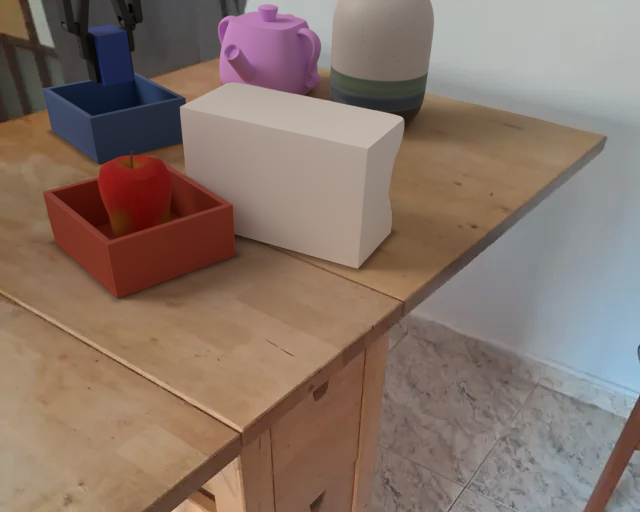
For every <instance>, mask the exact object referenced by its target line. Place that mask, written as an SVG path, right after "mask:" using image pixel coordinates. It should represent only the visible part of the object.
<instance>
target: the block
mask: <svg viewBox="0 0 640 512" xmlns="http://www.w3.org/2000/svg"><path fill="white" fill-rule="evenodd" d="M118 27H119V26H115V25H113V24H105V25H98V26H92V27H88V34H90V35H92V36H93V37H94V43H95V48H96V54H97V60H98V65H99V71H100V77H101V83H100V84H102V85H104V86H110V85H115V84H120V83H125V82H130V81H134V79H133V72H132V65H131V58H130V51H129V44H128V37H127V32H126V31H124V30H122V29H120V28H121V27H120V28H118Z"/></svg>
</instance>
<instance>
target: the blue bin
mask: <svg viewBox="0 0 640 512" xmlns="http://www.w3.org/2000/svg"><path fill="white" fill-rule="evenodd" d="M133 79H134V81H130V82H125V83H120V84H115V85H110V86H104V85H102V84H100V83H99V84H97V83H95V82H93V81H92V80H90V79H86V80H81V81H75V82H70V83H65V84H60V85H54V86H49V87H48V86H47V87H43V88H42V92H43V97H44V102H45V106H46V110H47V114H48V119H49V125H50V129H51V131H52V133H54V134H55V135H56V136H58V137H60V138H61V139H63V140H64V141H65V142H66V143H68V144H69V145H71V146H72V147H74V148H76V149H77V151H80V152H81V153H82V154H84V155H85V156H87V157H88V158H90V159H91V160H92V161H93V162H95V163H97V164H104V163H106V162H108V161H111V160H113V159H115V158H117V157H121V156H127V155H131V150H132V152H133V155H139V154H141V153H146V152H149V151H150V152H151V151H155V150H157V149H161V148H166V147H169V146H170V147H171V146H173V145H177V144H181V143H182V144H183V138H182V127H181V117H180V107H181V106H183V105H185V104H187V97H185V96H183V95H181V94H179V93H177V92H175V91H173V90H171V89H169V88H168V87H165V86H163V85H161V84H159V83H158V82H156V81H153V80H152V79H149V78H148V77H145V76H144V75H142V74H140V73H138V72H136V71H134V77H133Z"/></svg>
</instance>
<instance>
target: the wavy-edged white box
mask: <svg viewBox="0 0 640 512" xmlns="http://www.w3.org/2000/svg"><path fill="white" fill-rule="evenodd" d="M180 117H181V127H182V138H183V142H182V147H183V158H184V167H185V176H187V177H189V178H190V179H192V180H193V181H195V182H197V183H198V184H200V185H201V186H203V187H205V188H206V189H208V190H209V191H211V192H212V193H214V194H216V195H217V196H219V197H220V198H222V199H224V200H225V201H227V202H228V203H230V204H232V205H233V218H234V236H235V235H236V236H239V237H243V238H247V239H250V240H254V241H257V242H261V243H264V244H267V245H268V244H269V245H271V246H275V247H278V248H282V249H286V250H289V251H292V252H296V253H300V254H302V255H307V256H311V257H315V258H316V259H317V258H318V259H321V260H325V261H329V262H332V263H335V264H338V265H342V266H346V267H349V268H353V269H356V270H357V269H359V268H360V267H361V266H362V265H363V263H365V261H367V259H368V258H369V257H370V256H371V255H372V254H373V253H374V251H376V249H377V248H378V247H379V246H380V245H381V244H382V243H383V241H384V240H385V239H386V238H387V237H388V236H389V235H390V234H391V232H392V225H393V211H392V205H391V200H390V197H389V192H390V187H391V181H392V173H393V169H394V165H395V160H396V157H397V155H398V153H399V150H400V147H401V144H402V141H403V137H404V132H405V125H404V119H403V118H402V117H401V116H398V115H394V114H390V113H385V112H380V111H375V110H370V109H366V108H361V107H356V106H351V105H346V104H341V103H337V102H332V101H331V100H326V99H322V98H316V97H312V96H307V95H298V94H292V93H287V92H282V91H277V90H272V89H267V88H263V87H258V86H253V85H248V84H242V83H226V84H224V85H223V84H222V85H220V86H219V87H217V88H215V89H213V90H211V91H209V92H206V93H205V94H203V95H201V96H198V97H197V98H194V99H192V100H191V101H189V102H186V104H185V105H183V106H181V107H180Z"/></svg>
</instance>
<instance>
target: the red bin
mask: <svg viewBox="0 0 640 512" xmlns="http://www.w3.org/2000/svg"><path fill="white" fill-rule="evenodd" d="M164 164H165V166H166V168H167V169H168V171H169V173H170V175H171V177H172V193H171V203H170V218H171V221H170V222H167V223H164V224H161V225H158V226H155V227H151V228H148V229H145V230H142V231H139V232H136V233H132V234H129V235H126V236H123V237H120V238H117V239H116V238H115V237H114V234H113V231H112V226H111V222H110V218H109V215H108V212H107V210H106V208H105V205H104V203H103V201H102V198H101V195H100V191H99V187H98V182H97V180H98V176H97V177H93V178H89V179H86V180H82V181H78V182H74V183H70V184H66V185H62V186H59V187H55V188H50V189H47V190H43V191H42V195H43V200H44V203H45V208H46V212H47V215H48V218H49V223H50V227H51V232H52V235H53V240H54V243H55V244H56V245H57V246H58V247H59V248H61V249H62V250H63V251H64V252H65V253H66V254H68V255H69V256H70V258H72V259H73V260H74V261H75V262H76V263H77V264H79V265H80V266H81V267H82V268H83V269H84V270H85V271H86V272H88V273H89V274H90V275H91V276H92V277H93V278H94V279H95V280H96V281H97V282H99V284H101V285H102V286H103V287H104V288H105V289H107V290H108V291H109V292H110V293H111V294H112V295H113V296H114V297H115V298H117V299H120V298H122V297H125V296H128V295H131V294H135V293H138V292H140V291H143V290H145V289H148V288H151V287H153V286H156V285H159V284H161V283H165V282H168V281H169V280H172V279H175V278H178V277H181V276H184V275H186V274H189V273H192V272H194V271H197V270H199V269H202V268H205V267H208V266H211V265H214V264H217V263H219V262H222V261H225V260H227V259H230V258H232V257H233V258H234V257H236V256H237V255H236V239H235V237H236V236H235V234H234V218H233V205H232V204H230V203H228V202H227V201H225V200H224V199H222V198H220V197H219V196H217V195H216V194H214V193H212V192H211V191H209V190H208V189H206V188H205V187H203V186H201V185H200V184H198V183H197V182H195V181H193V180H192V179H190V178H189V177H187V176H186V174H184V173H182V172H181V171H179V170H177V169H176V168H174V167H173V166H171V165H169V164H168V163H166V162H164Z"/></svg>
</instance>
